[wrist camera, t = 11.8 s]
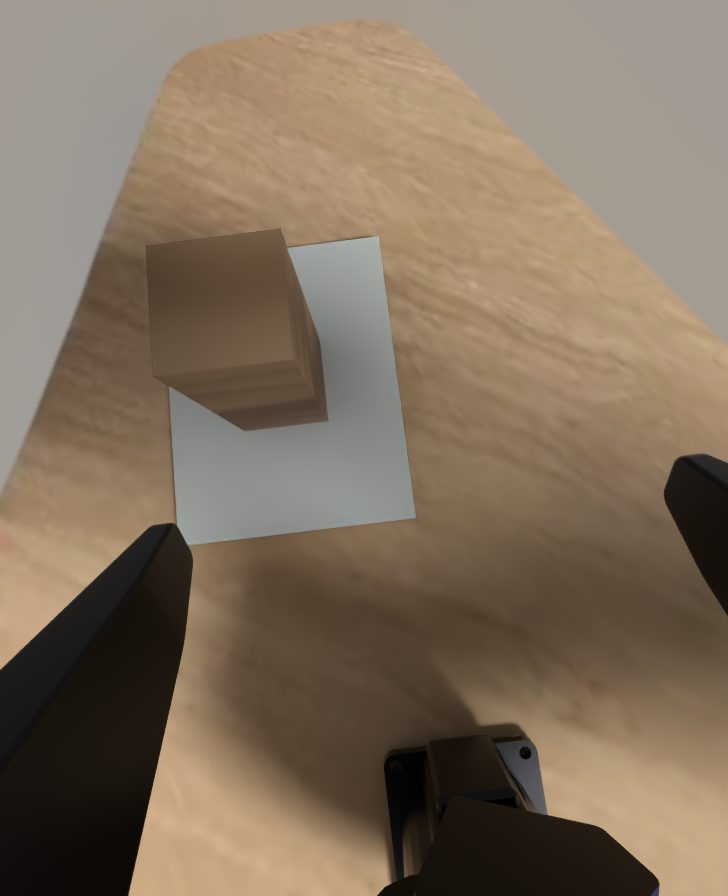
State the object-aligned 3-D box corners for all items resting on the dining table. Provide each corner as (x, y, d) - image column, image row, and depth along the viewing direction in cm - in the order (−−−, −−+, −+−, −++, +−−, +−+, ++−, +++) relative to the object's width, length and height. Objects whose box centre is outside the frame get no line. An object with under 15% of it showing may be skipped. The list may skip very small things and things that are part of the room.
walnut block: (328, 421, 22) (293, 359, 13) (245, 431, 22) (153, 376, 13) (320, 340, 23) (280, 228, 14) (238, 350, 23) (146, 246, 14)
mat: (415, 518, 22) (415, 518, 21) (183, 545, 22) (178, 546, 21) (378, 241, 24) (378, 235, 23) (165, 269, 24) (161, 264, 23)
